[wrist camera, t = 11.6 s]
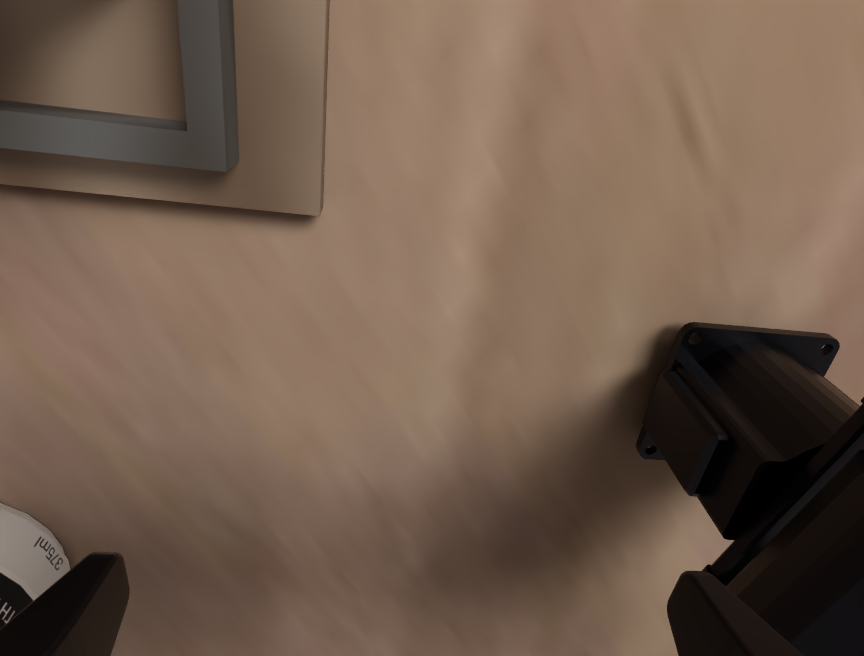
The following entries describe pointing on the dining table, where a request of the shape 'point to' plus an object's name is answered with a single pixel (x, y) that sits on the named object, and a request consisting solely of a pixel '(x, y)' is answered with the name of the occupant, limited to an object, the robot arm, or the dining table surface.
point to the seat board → (167, 99)
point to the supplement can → (26, 561)
